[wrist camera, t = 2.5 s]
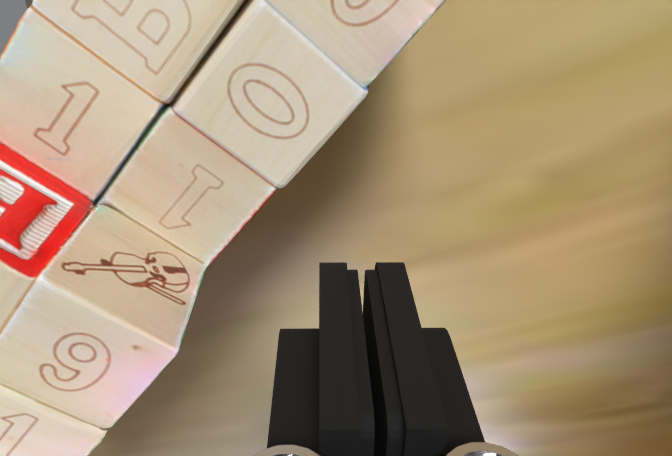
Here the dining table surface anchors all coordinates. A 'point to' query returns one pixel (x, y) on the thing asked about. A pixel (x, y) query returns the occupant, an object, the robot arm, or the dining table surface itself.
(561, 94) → the dining table surface
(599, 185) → the dining table surface
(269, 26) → the stack of blocks
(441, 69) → the dining table surface
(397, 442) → the robot arm
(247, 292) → the dining table surface
